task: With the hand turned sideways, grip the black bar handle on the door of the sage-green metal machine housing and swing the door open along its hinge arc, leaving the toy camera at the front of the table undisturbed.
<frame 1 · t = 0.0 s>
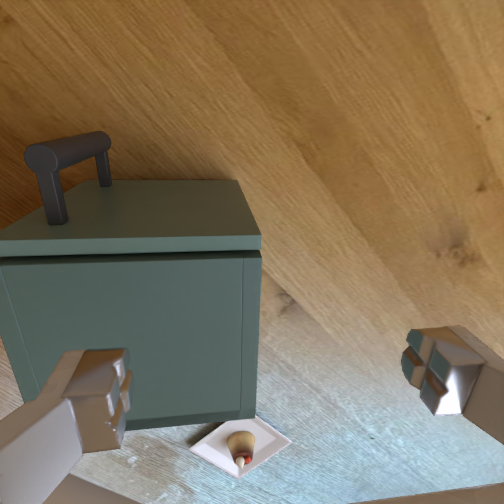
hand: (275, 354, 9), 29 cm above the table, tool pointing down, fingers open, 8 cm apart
dessert: (240, 438, 53), on the table
housing: (168, 249, 38), on the table
door: (149, 176, 26), point 9 cm above the table, hinge at 0.0°
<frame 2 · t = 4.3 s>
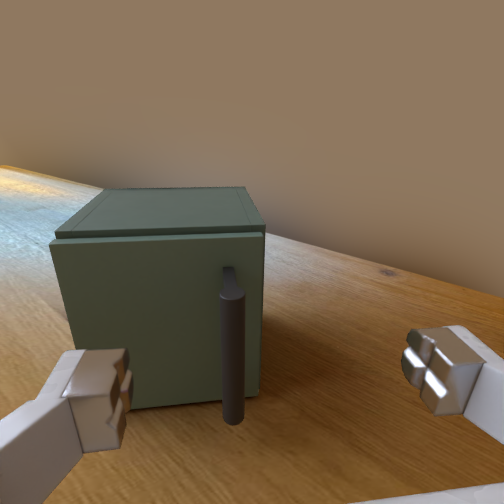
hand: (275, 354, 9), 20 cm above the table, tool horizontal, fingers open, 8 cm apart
housing: (184, 349, 39), on the table
door: (168, 347, 26), point 9 cm above the table, hinge at 0.0°
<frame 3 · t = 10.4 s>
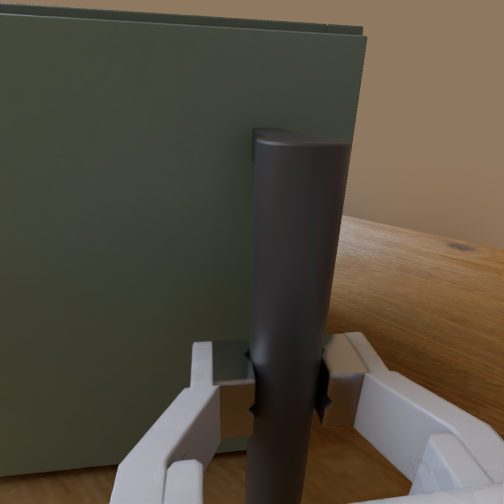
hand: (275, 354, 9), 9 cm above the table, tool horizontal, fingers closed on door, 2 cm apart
housing: (169, 348, 23), on the table
door: (106, 340, 10), point 9 cm above the table, hinge at 0.0°, touching gripper
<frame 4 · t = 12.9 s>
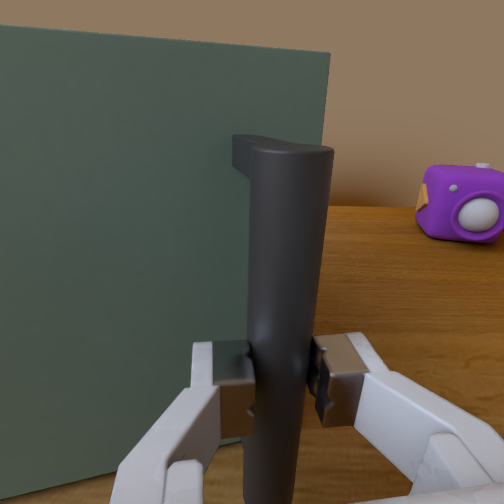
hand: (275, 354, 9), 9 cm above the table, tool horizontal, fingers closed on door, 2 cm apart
toy camera: (455, 238, 47), on the table
door: (99, 345, 10), point 9 cm above the table, hinge at 32.5°, touching gripper
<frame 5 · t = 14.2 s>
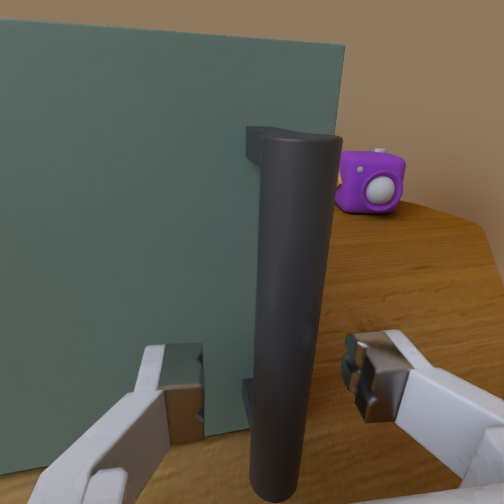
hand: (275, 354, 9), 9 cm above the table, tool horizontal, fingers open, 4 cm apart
toy camera: (364, 211, 56), on the table
door: (116, 326, 10), point 9 cm above the table, hinge at 49.8°
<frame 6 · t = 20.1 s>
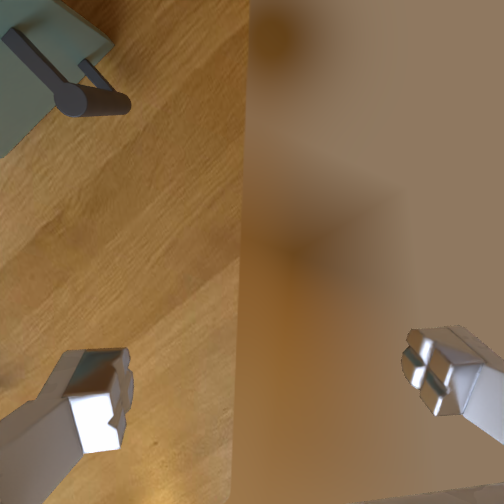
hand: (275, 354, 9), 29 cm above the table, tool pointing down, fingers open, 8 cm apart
door: (31, 124, 24), point 9 cm above the table, hinge at 49.8°
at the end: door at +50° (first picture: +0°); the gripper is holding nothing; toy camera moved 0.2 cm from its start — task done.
